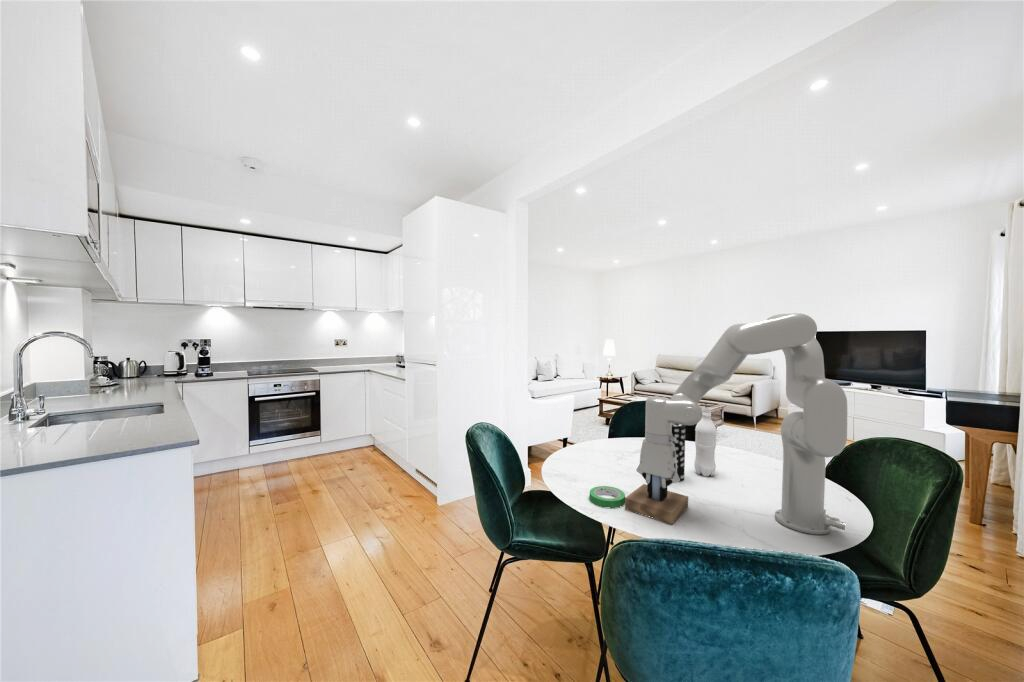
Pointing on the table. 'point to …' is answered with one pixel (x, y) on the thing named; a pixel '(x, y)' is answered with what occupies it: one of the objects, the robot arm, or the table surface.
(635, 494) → the block
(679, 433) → the white-spotted black cylinder
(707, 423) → the water bottle
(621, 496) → the tape roll
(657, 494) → the peg
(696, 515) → the table surface
